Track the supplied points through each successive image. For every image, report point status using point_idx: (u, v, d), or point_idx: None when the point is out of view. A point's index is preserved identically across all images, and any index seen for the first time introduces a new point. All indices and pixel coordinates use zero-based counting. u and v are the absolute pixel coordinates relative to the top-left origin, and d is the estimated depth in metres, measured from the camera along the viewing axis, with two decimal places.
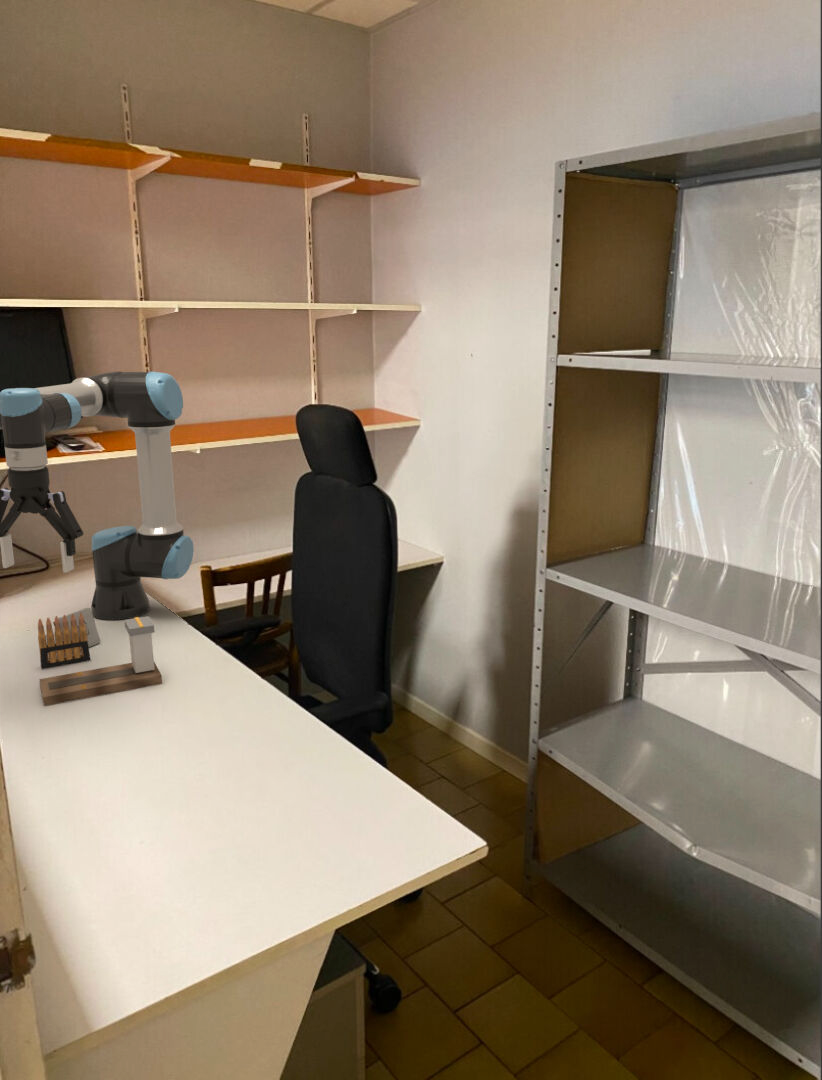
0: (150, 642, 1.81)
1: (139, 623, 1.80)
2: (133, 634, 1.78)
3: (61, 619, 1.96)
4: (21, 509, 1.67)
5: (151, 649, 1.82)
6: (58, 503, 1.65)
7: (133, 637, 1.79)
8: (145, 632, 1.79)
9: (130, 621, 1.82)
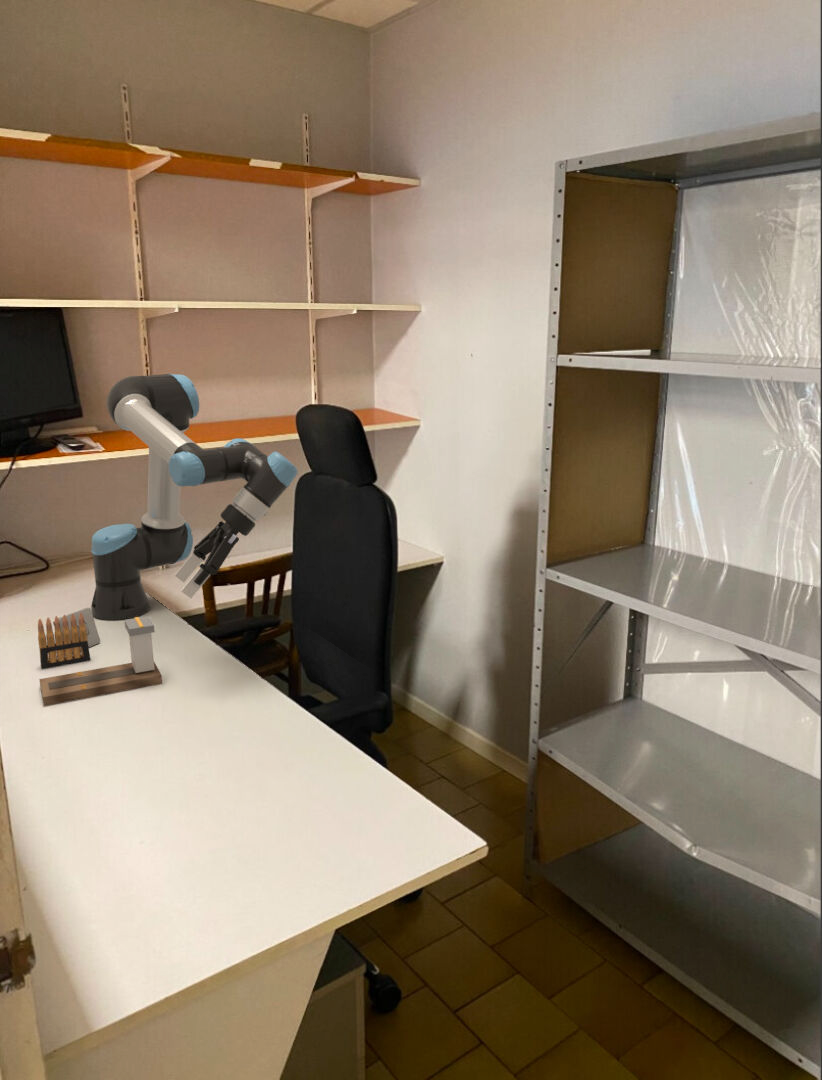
0: (150, 642, 1.81)
1: (139, 623, 1.80)
2: (133, 634, 1.78)
3: (61, 619, 1.96)
4: None
5: (151, 649, 1.82)
6: None
7: (133, 637, 1.79)
8: (145, 632, 1.79)
9: (130, 621, 1.82)
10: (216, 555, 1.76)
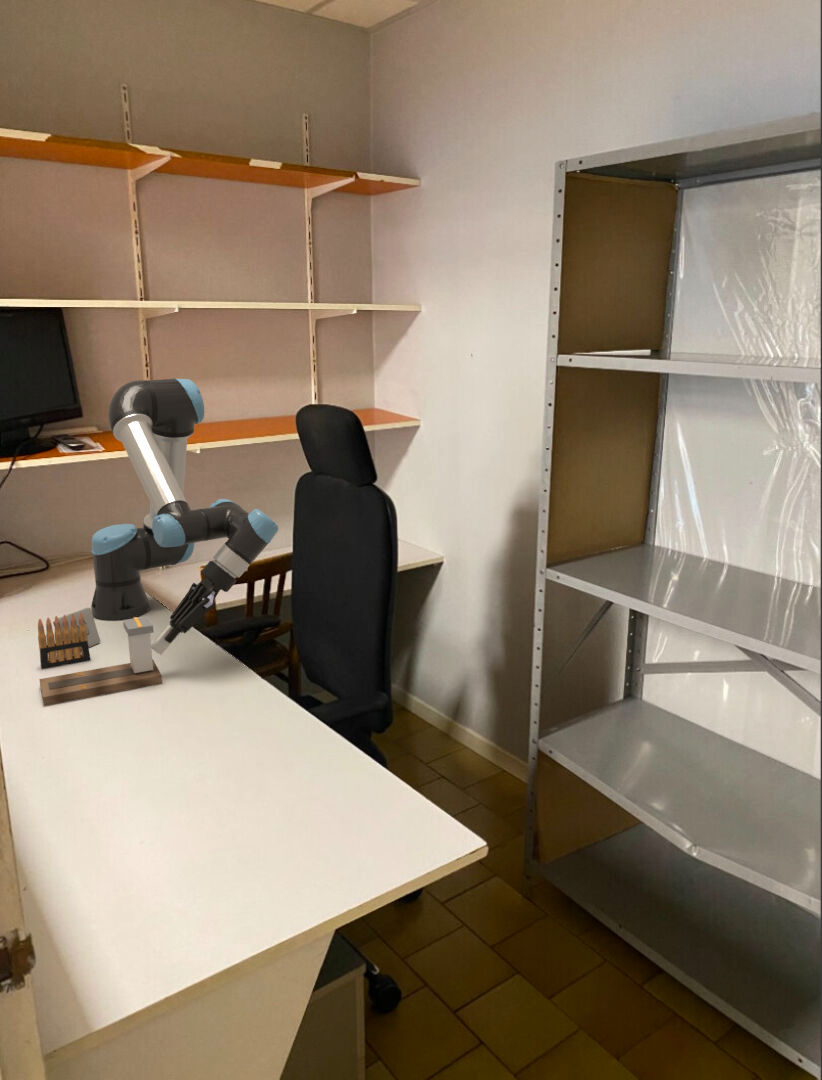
0: (149, 642, 1.81)
1: (138, 623, 1.80)
2: (132, 634, 1.78)
3: (61, 619, 1.96)
4: None
5: (150, 649, 1.81)
6: None
7: (132, 637, 1.79)
8: (144, 632, 1.79)
9: (129, 621, 1.82)
10: (188, 617, 1.82)
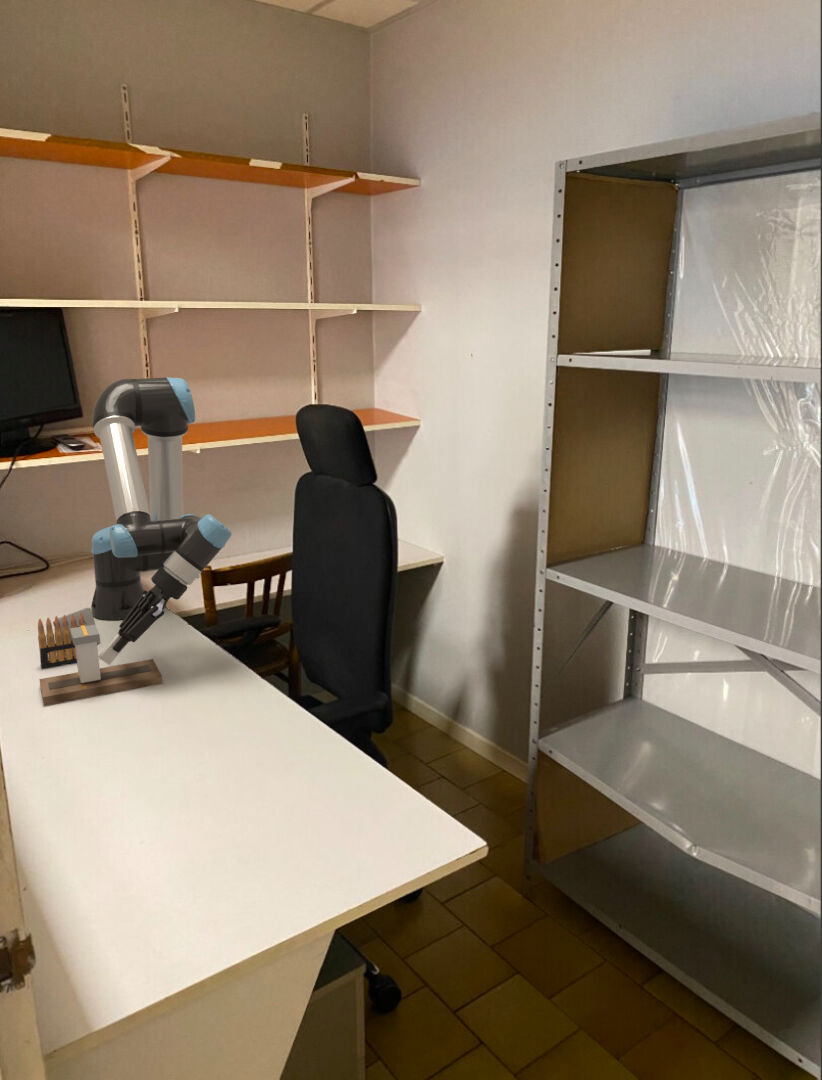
0: (96, 651, 1.76)
1: (84, 632, 1.75)
2: (77, 643, 1.73)
3: (61, 619, 1.96)
4: None
5: (97, 658, 1.76)
6: None
7: (78, 646, 1.74)
8: (90, 641, 1.74)
9: (75, 630, 1.77)
10: (136, 626, 1.76)
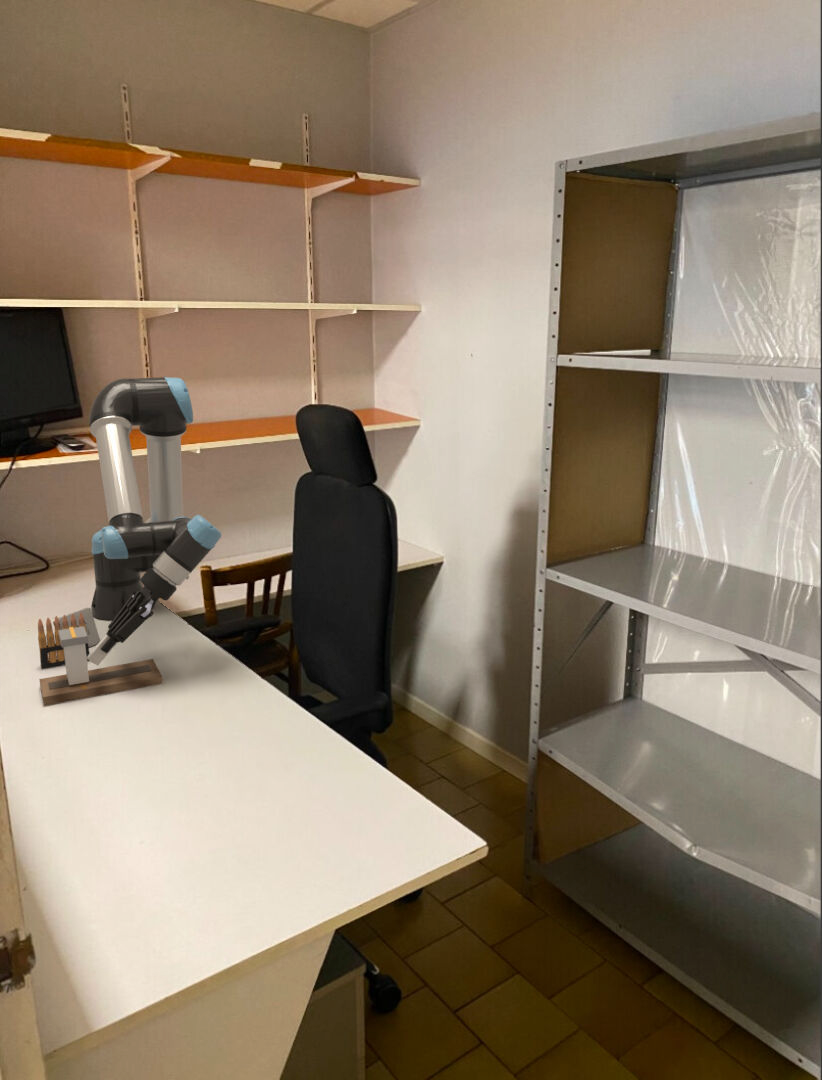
0: (84, 653, 1.75)
1: (73, 634, 1.74)
2: (65, 645, 1.72)
3: (61, 619, 1.96)
4: None
5: (85, 660, 1.75)
6: None
7: (66, 648, 1.73)
8: (78, 643, 1.73)
9: (64, 631, 1.76)
10: (125, 627, 1.76)
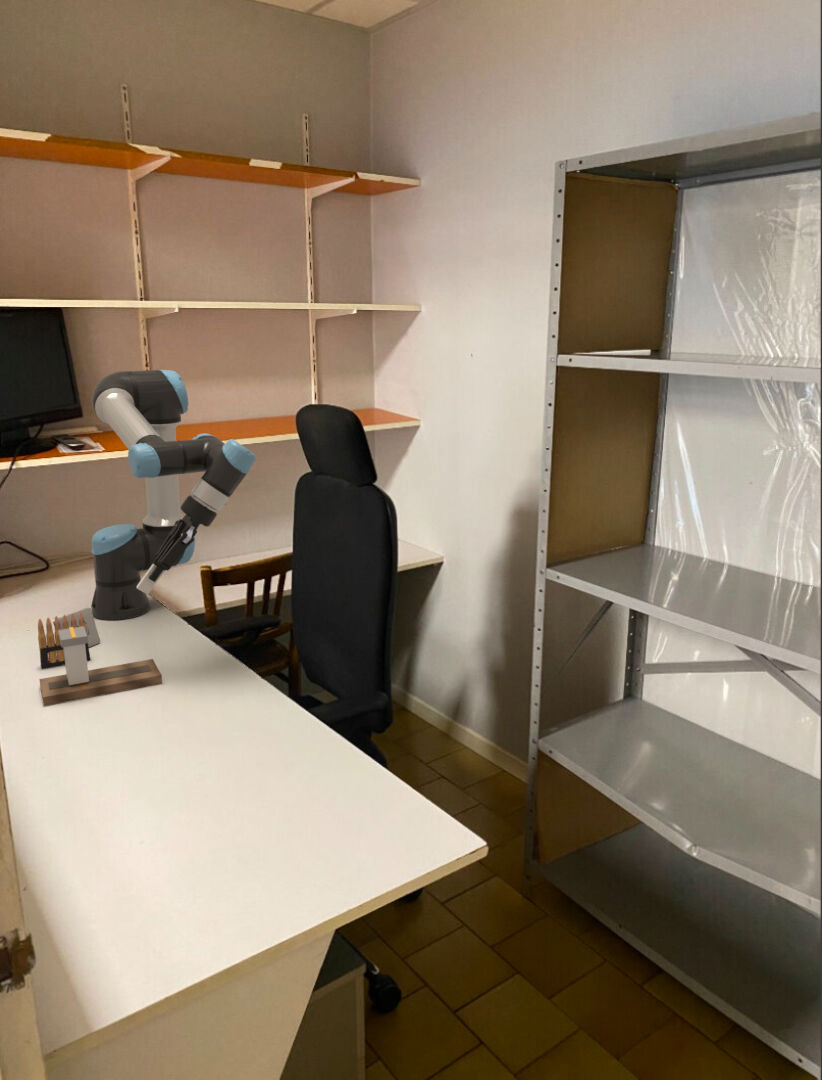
0: (84, 653, 1.75)
1: (73, 634, 1.74)
2: (65, 645, 1.72)
3: (61, 619, 1.96)
4: None
5: (85, 660, 1.75)
6: None
7: (65, 648, 1.73)
8: (78, 643, 1.73)
9: (64, 631, 1.76)
10: (169, 554, 1.78)
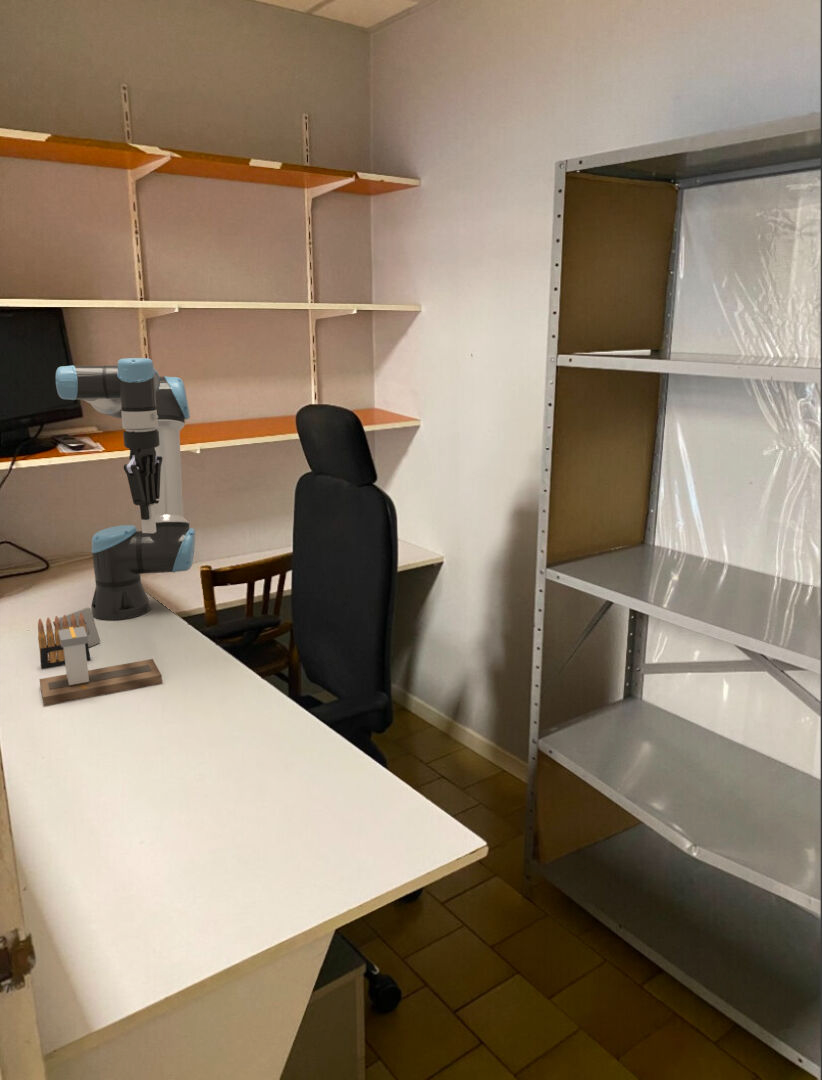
0: (84, 653, 1.75)
1: (73, 634, 1.74)
2: (65, 645, 1.72)
3: (61, 619, 1.96)
4: (144, 469, 1.83)
5: (85, 660, 1.75)
6: (160, 465, 1.90)
7: (65, 648, 1.73)
8: (78, 643, 1.73)
9: (64, 631, 1.76)
10: (131, 490, 1.82)
